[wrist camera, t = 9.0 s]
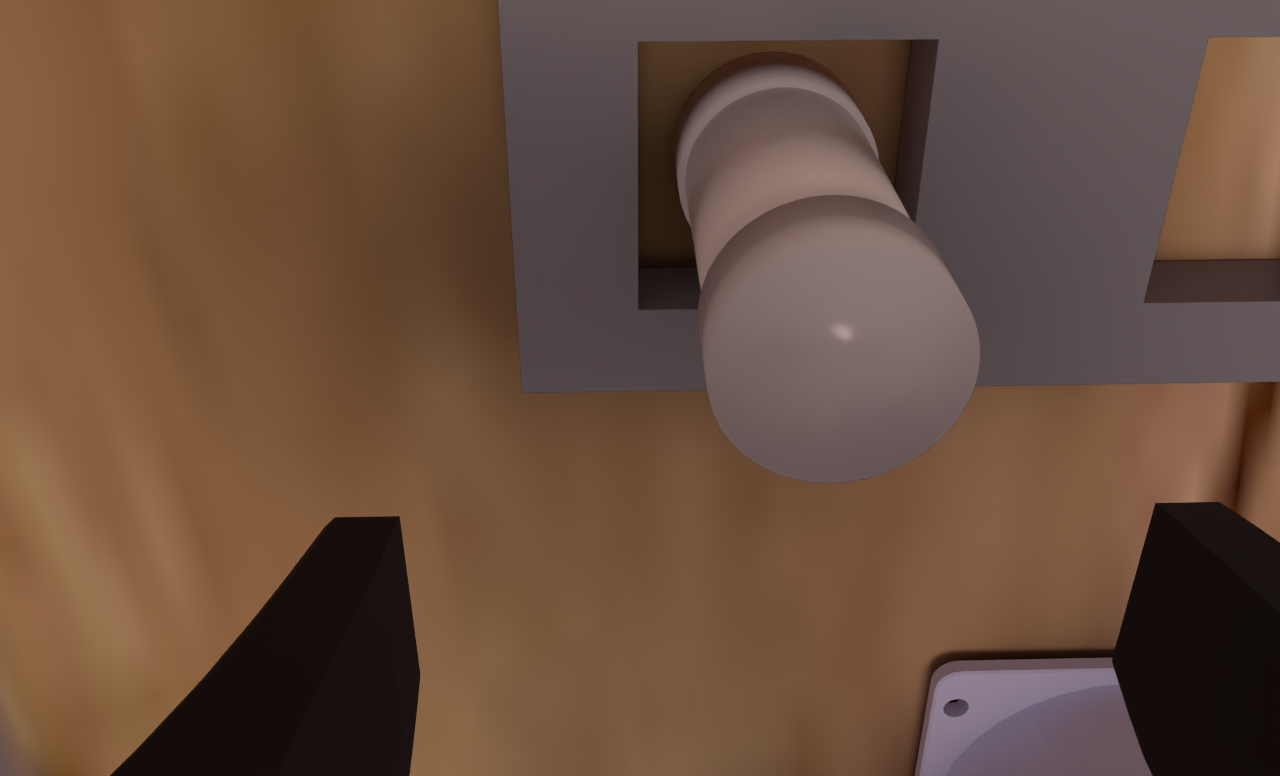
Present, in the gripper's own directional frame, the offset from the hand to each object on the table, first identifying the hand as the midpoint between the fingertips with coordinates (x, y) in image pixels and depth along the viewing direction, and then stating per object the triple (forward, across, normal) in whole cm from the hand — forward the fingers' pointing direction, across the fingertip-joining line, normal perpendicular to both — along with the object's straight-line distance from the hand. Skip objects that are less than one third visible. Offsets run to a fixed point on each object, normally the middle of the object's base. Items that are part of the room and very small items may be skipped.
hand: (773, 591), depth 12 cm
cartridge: (+9, -1, -1) cm, 10 cm away
